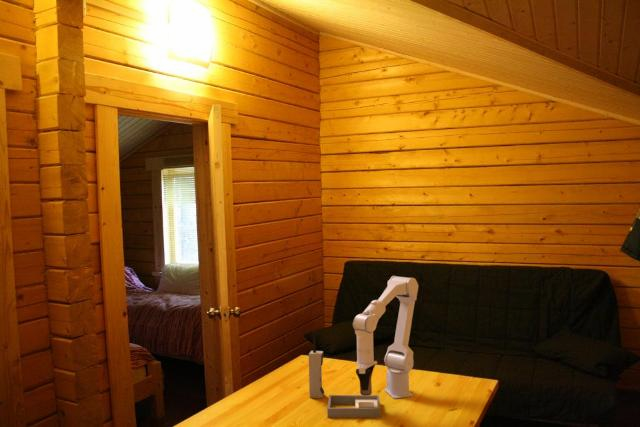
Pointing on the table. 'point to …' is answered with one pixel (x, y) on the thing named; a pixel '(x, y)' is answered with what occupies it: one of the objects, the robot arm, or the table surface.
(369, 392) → the walnut peg
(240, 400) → the table surface
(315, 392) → the vintage mobile phone
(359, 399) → the grey tray
